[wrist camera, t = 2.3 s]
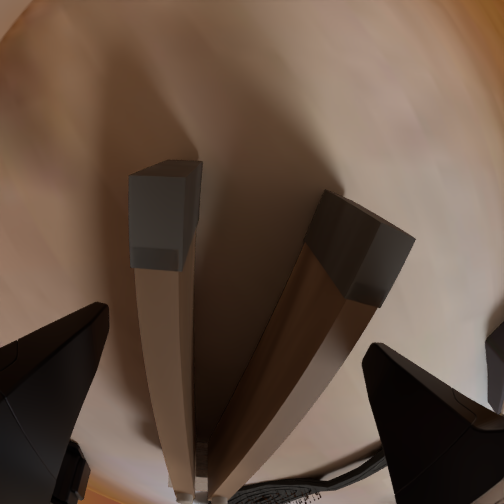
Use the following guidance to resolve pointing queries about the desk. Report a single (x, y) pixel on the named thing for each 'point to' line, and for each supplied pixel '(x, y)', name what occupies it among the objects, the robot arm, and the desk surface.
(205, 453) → the tong hinge block
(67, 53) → the desk surface
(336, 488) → the hairbrush
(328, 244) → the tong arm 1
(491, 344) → the calculator
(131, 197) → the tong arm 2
